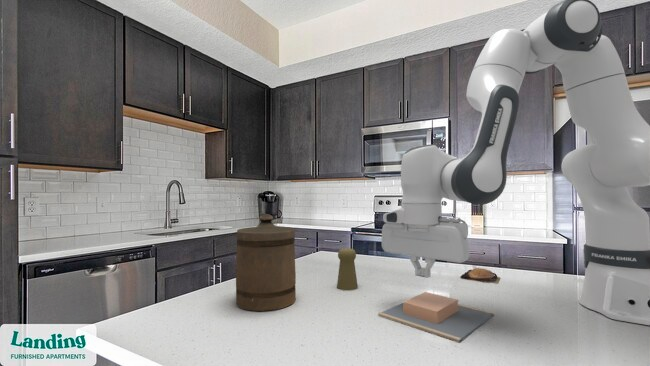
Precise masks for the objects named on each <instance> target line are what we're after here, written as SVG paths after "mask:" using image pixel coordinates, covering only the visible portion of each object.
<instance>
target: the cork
mask: <svg viewBox="0 0 650 366" xmlns="http://www.w3.org/2000/svg"><path fill="white" fill-rule="evenodd" d="M356 257H357V252H356V250H355V249H354V248H349V247H345V248H341V249H339V250H338V252H337V258H338V259H339V265H338V266H339V267H338V272H337V273H338V275H337V282H336V283H337V284H336V288H337V289H338V290H342V291H355V290H357V289H358V287H359V286H358V279H357V272H356V271H357V270H356V265H355V260H356Z"/></svg>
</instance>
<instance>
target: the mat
mask: <svg viewBox="0 0 650 366" xmlns="http://www.w3.org/2000/svg"><path fill="white" fill-rule="evenodd" d="M377 315H378V317H381V318H384V319H387V320H391V321H393V322H397V323H399V324H403V325H406V326H408V327H411V328H414V329H417V330H421V331H424V332H427V333H430V334H433V335H435V336H439V337H442V338H444V339H448V340H451V341H454V342H456V343H461V342H462V341H464V340H465V339H466V338H468V336H469V335H471V334H472V333H474V331H476V330H477V329H478V328H480V327H481V326H482V325H483V324H484V323H486V322H487V321H489V320H490V319H491V318H492V317H493V316H495V313H494V312H492V311H488V310H485V309H480V308H476V307H472V306H467V305H464V304H459V303H458V311H457V312H456V313H454V314H452V315H451V316H449V317H448V318H446V319H444V320H443V321H441V322H440V323H438V324H436V323H433V322H429V321H426V320H423V319H420V318H416V317H413V316H410V315H407V314H403V302H401V303H399V304H397V305H395V306H392V307H389V308H388V309H386V310H383V311H382V312H378V314H377Z"/></svg>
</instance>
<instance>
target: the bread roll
mask: <svg viewBox="0 0 650 366" xmlns="http://www.w3.org/2000/svg"><path fill="white" fill-rule="evenodd" d="M460 279H461V280H466V281H471V282H473V281H474V282H481V283H486V284H487V283H488V284H496V285H497V284H498V285H499V282H500V280H501V277H500V276H498V275H497V274H496V272H493V271H491V270H489V269H486V268H480V267H475V268H473V269H469V270H467V271H466V272H464V274H461V275H460Z"/></svg>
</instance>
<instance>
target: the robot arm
mask: <svg viewBox="0 0 650 366" xmlns="http://www.w3.org/2000/svg"><path fill="white" fill-rule="evenodd" d="M602 23H603V22H602V16H601V13H600V10H599V8H598V7H597V6H596V4H595V3H594V2H592V1H591V0H562V1H560V2H558V3H556V4H554V5H553V6H552V7H551V8H549V10H547V11H546V12H544V13H543V14H541V15H540V16H539V17H537V18H536V19H535V20H533V21H532V22H531V23H530V24H529V25H528V26H527V27H526V28H525V29H524V30H521V29H518V28H503V29H499V30H497V31H496V32H494V33H493V34H492V35H491V36H490V37H489V39H488V40H487V42H486V43H485V45H484V46H483V48H482V50H481V52H480V53H479V55H478V58H477V60H476V62H475V64H474V66H473V68H472V71H471V74H470V76H469V79H468V82H467V87H466V94H465V95H466V96H465V97H466V100H467V102H468V104H469V105H470V107H472V108H473V109H474V110H475V111H477V112H480V113H481V119H480V122H479V123H480V124H479V126H478V129H477V133H476V137H475V140H474V142H473V143H474V144H473V146H472V149H471V150H470V151H469V152H468V154H466V155H465V156H464V157H460V158H459V157H456V156H453V155H451V154H450V153H449V154H448V153H447V152H445V151H443V150H442V149H440V148H439V147H438V146H437V145H436V144H424V145H418V146H416V147H412V148H410V149H408V150H406V151H405V152H404V153H403V155H402V158H401V164H400V165H401V166H400V186H401V189H402V198H401V201H400V202H401V208H398V209H395V210H392V211H389V212H386V213H384V214H382V215H383V216H382V220H383V222H384V224H383V226H382V229H381V248H382V250H383V251H384V252H385V253H389V254H390V253H391V254H398V255H404V256H409V260H410V263H411V264H412V266H413V268H414V274H415V276H416V277H421V278H426V279H428V278H430V277H431V269H432V268H433V266H434V264H435V263H436V261H437V260H438V261H444V262H445V261H446V262H452V263H458V264H459V263H460V264H461V263H464V262H466V261H467V260H468V259H469V258H470V255H471V254H470V248H469V247H470V246H469V240H468V236H469V226H468V224H467V223H466V221H465V220H463V219H461V218H460V217H458V216H457V217H450V216H443V215H442V213H443V211H442V210H443V208H442V200H443V198H444V199H446V200H449V201H457V202H466V203H469V204H473V205H487V204H490V203H492V202H494V201H496V200H497V199H499V197H500V196H501V195H502V193H503V192H504V190H505V188H506V185H507V178H508V177H507V176H508V175H507V174H508V173H507V157H508V151H509V148H510V143H511V140H512V135H513V131H514V127H515V124H516V119H517V116H518V112H519V111H518V110H519V105H520V97H519V93H520V89H521V86H522V83H523V82H524V81H523V80H524V78H525V76H528V75H533V74H536V73H539V72H541V71H542V70H544V69H546V68H548V67H551V66H555V68H557V69H558V71H559V72H560V74H561V78H562V79H561V80H562V86H563V90H564V93H565V98H566V102H567V105H568V106H567V107H568V110H569V115H570V117H571V120H572V122H573V124H574V125H575V126H577V127H580V128H581V129H583V130H585V131H586V132H587V134H589V136H590V137H591V139H592V140H593V142H594V143H589V144H585V145H582V146H580V147H578V148H575V149H574V150H572V151H569V152H568V153H567V154H565V156H564V157H563V158H562V162H561V165H560V167H561V172H562V175H563V177H564V178H565V179H566V181H568V182H569V183H570V184H571V185H572V186H573V187H574V189H575V191H576V193H577V196H578V197H579V198H578V199H579V200H580V204H581V207H582V210H583V214H584V228H585V231H584V232H585V244H584V245H583V248H582V250H583V251H582V254H583V255H582V256H583V259H582V260H583V265H584V268H585V270H584V272H585V273H584V281H583V286H582V289H581V290H582V291H581V293H580V296H579V299H578V302H579V304H580V305H582V306H584V307H585V308H587V309H589V310H592V311H594V312H598V313H600V314H602V315H604V316H605V317H606V318H609V319H612V320H616V321H621V322H628V323H632V324H633V323H634V324H639V325H646V326H650V216H649V215H648V213H647V211H646V210H645V209H644V208H642V207H641V206H639V205H638V204H637V203H636V202H635V201H634V200H633V198H632V196H631V194H630V192H629V189H628V187H629V188H630V187H631V188H634V187H637V188H638V187H647V186H650V124H649V123H647V121H646V120H645V119H644V118H643V117H642V115H641V114H640V112H639V110H638V109H637V107H636V106H635V103H634V100H633V98H632V97H633V96H632V92H631V91H630V87H629V84H628V80H627V76H626V72H625V69H624V66H623V63H622V60H621V58H620V55H619V53H618V51H617V49H616V47H615V46H614V44H613V42H612V40H611V39H610V38H609V37H608V36H606V35H605V34H603V25H602ZM421 258H423V259H424V263H426V265H425V267H423V266H422V265H421V263H420V261H419V260H421Z"/></svg>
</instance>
